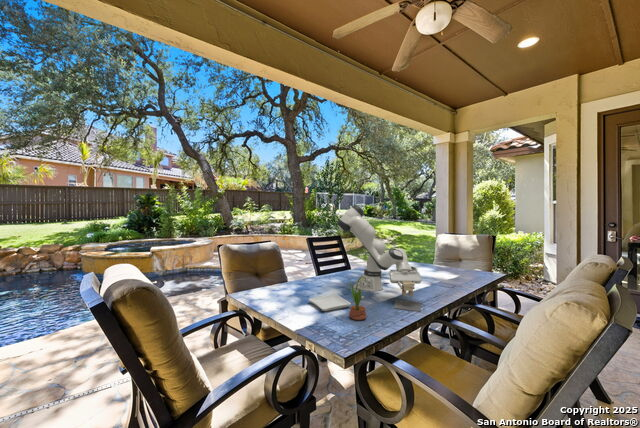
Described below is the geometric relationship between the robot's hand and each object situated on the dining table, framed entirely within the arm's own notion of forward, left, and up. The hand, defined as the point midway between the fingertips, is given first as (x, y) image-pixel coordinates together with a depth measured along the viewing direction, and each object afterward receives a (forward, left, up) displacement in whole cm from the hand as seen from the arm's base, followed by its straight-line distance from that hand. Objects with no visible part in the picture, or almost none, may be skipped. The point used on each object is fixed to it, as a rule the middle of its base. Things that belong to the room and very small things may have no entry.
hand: (407, 288), depth 182 cm
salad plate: (-48, -15, -12) cm, 52 cm away
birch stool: (0, +1, -5) cm, 5 cm away
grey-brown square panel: (0, +1, -11) cm, 11 cm away
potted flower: (-26, -29, -12) cm, 41 cm away
